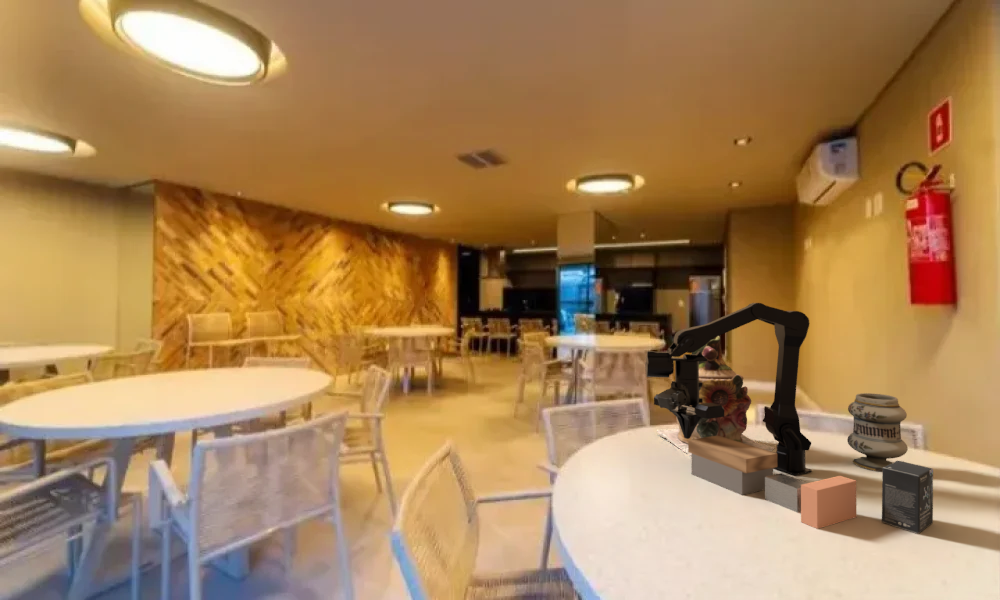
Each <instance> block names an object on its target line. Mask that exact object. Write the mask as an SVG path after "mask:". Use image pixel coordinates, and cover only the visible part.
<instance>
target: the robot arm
mask: <svg viewBox="0 0 1000 600" xmlns="http://www.w3.org/2000/svg"><path fill="white" fill-rule="evenodd" d="M757 320H758V321H761V322H764V323H766V324H769V325H772V326H774V335H775V337H776V340H777V341H776V342H777V343H778V345H777V346H778V350H777V361H776V362H777V363H776V372H775V373H776V374H775V384H774V385H775V386H774V397H773V402H772V404H771V405H770V406H764V407H763V409H764V410H763V411H764V416H763V419H762V422H763V423H764V424H765V428H766V430H767V431H768V432H769V433H770V434H771V435H772V436H773V439H774V440H775V441H776V442H777V444H776V452H775V453H777V467H775V468H774V469H775V470H777V471H781V472H784V473H786V474H790V475H792V476H799V475H803V474H808V473H812V471H813V470H812V469H811V468H807V467H806V451H809V450H810V448H811V445H812V441H810V440H809V439H808V438H807V437H806V436H805V435H804V434H803V432H801V425H800V417H799V413H798V410H797V407H796V396H797V385H798V384H797V383H798V373H799V363H800V362H799V361H800V359H799V358H800V350H801V347H802V345H803V343H804V341H805V339H806V338H807V335H808V331H809V328H810V318H809V317H808V316H807V315H806V314H805V313H804V312H802V311H799V310H784V309H780V308H776V307H773V306H769V305H766V304H764V303H762V302H751V303H749V304H748V305H746V306H745V307H742V308H739V309H737V310H736V311H734V312H731V313H728V314H726V315H724V316H722V317H719V318H717V319H715V320H713V321H710V322H708V323H706V324H702V325H700V324H699V325H697V326H695V325H694V326H692V327H688V328H683V329H680V330H678V331H677V332H676V333H675V334H674V337H673V342H672V343H671V345H670V346H669V347H668V348H667V350H666V351H653V350H647V351H646V357H645V362H644V365H645V366H644V369H645V377H646V378H669V377H670V376H671V375H673V374H674V376H675V378H674V380H673V381H671V383H670V388H668V389H665V390H663V391H662V392H660V393H657V394H655V395H654V398H653V405H654V406H657V407H660V408H661V409H666V410H667V411H669V412H670V413H672V414H673V415H674V416H675V417H677V418H676V420H677V419H678V421H679V424H680V426H681V429H682V432H683V435H684V438H686V439H689V438H690V437H691V435H692V433H693V431H694V429H695V427H696V425H697V423H698V422H699V420H700V419H701V417H702V418H707V419H711V418H718V417H724V408H723V407H722V405H718V404H714V403H703V404H699V403H702V402H703V400H702V398H699V387H702V382H699V361H705V362H706V361H707V359H706V358H705V357H704V356H703V355H702V353H701V352H699V351H698V352H697V353H696V354H692V352H695V351H697V350H698V349H700V348H701V347H703V346H704V345H706V344H707V343H708V342H710V341H711V340H712V339H716V337H717V336H719V337H720V336H722V335H724V334H726V333H729V332H731V331H733V330H736V329H738V328H740V327H742V326H745V325H747V324H750V323H753V322H754V321H757ZM681 356H683V357H681ZM674 366H675V367H674ZM674 368H675V369H674ZM674 371H675V373H674ZM684 404H685V405H684ZM690 405H691V406H690Z"/></svg>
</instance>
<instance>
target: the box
mask: <svg viewBox="0 0 1000 600" xmlns="http://www.w3.org/2000/svg"><path fill="white" fill-rule="evenodd" d="M881 472H882V475H881V478H882V481H881V482H882V483H881V484H882V489H881V491H882V492H881V522H882V523H884V524H886V525H889V526H893V527H895V528H899V529H901V530H905V531H908V532H910V533H914V534H920V533H921V532H923V531H924V530H925V529H926V528H928V527H929V526H931V525H932V524H933V522H934V521H933V519H934V517H933V516H934V511H933V510H934V498H933V497H934V469H933V468H931V467H929V466H923V465H920V464H914V463H909V462H907V461H902V460H896V461H895V462H892V464H890V465H888V466H885V467H883V471H881Z"/></svg>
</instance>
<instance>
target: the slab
mask: <svg viewBox="0 0 1000 600" xmlns="http://www.w3.org/2000/svg"><path fill="white" fill-rule="evenodd" d="M688 452H689V453H692V454H695V455H697V456H700V457H703V458H706V459H708V460H711V461H714V462H716V463H719V464H722V465H725V466H727V467H730V468H733V469H736V470H738V471H741V472H744V473H750V472H755V471H760V470H765V469H770V468H773V469H775V467H777V453H776V452H774V451H772V452H771V451H768V450H764V449H761V448H758V447H754V446H751V445H748V444H744V443H741V442H738V441H734V440H731V439H728V438H724V437H721V436H711V437H704V438H698V439H691V440H688Z"/></svg>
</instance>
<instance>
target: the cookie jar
mask: <svg viewBox="0 0 1000 600" xmlns="http://www.w3.org/2000/svg"><path fill="white" fill-rule="evenodd" d="M720 341H721V337H720V335H719V336H717V337H715V338H714V339H712V340H711V341H710V342H708V343H707V344H706V345H704V346H703V347H701V348H700V349H698V350H697V351H695V352H692V353H691V354H696V353H697V352H698V351H699V352H701V353H702V355H703V356H704V357H705V358H706V359H707V361H706V362H705V361H699V382H702V387H699V398H702V400H703V402H702V403H699V404H703V403H714V404H718V405H722V407H723V408H724V417H718V418H711V419H707V418H702V417H701V419H700V420H699V422H698V423H697V425H696V427H695V429H694V431H693V433H692V435H691V437H690V438H689V439H686V438H684V435H683V432H682V429H681V426H680V424H679V421H678V419H677V417H676V416H675V417H676V424H677V425H678V428H676V429H675V428H671V429H668V428H666V429H663V428H661V429H656V432H657V434H658V435H659V436H660V437H661V438H664V439H666V441H667V442H669V443H670V442H671V443H670V444H672V445H673V446H675V447H676V448H679V449H680V450H681V451H682V452H684V453H685V454H687V455H688V454H689V456H690V455H691V457H692V453H689V452H688V440H691V439H698V438H704V437H711V436H721V437H724V438H728V439H731V440H734V441H738V442H741V443H744V444H748V445H751V446H754V447H758V448H761V449H764V450H768V451H771V452H774V451H773V450H774V449H775V446H771V445H769V444H764V443H760V442H757V441H755V440H754V439H751V438H749V437H748V436H746V435H744V434H743V433H745V431H746V430H747V427H748V426H747V425H748V417H747V411H748V410H749V409H750V406H751V404H752V398H751V397H750V396H749V395H748V387H747V386H743V385H744V376H743V375H742V374H737V373H736V371H734V370H733V369H732V368H731V367H730V366H728V365H727V364H726V362H725V360H724V359H723V354H722V349H721V344H720ZM684 405H685V404H684ZM690 406H691V405H690ZM775 450H776V449H775Z"/></svg>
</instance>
